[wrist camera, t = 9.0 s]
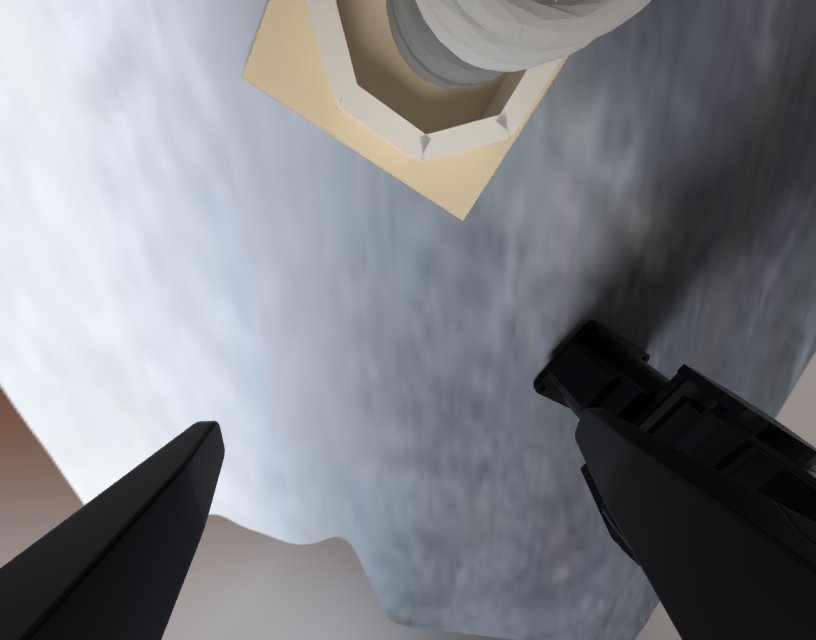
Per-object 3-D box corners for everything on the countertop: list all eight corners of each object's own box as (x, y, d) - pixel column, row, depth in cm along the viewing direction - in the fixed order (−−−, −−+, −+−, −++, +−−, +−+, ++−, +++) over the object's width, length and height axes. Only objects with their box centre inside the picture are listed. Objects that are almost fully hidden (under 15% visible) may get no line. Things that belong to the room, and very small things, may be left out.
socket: (611, -18, 15) (666, -53, 13) (460, 219, 19) (477, 230, 16) (378, -294, 11) (386, -433, 8) (244, 79, 15) (221, 65, 12)
